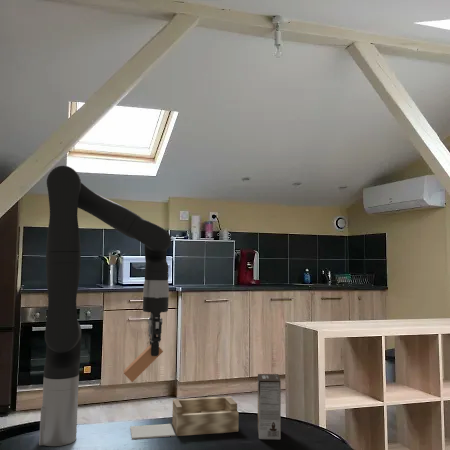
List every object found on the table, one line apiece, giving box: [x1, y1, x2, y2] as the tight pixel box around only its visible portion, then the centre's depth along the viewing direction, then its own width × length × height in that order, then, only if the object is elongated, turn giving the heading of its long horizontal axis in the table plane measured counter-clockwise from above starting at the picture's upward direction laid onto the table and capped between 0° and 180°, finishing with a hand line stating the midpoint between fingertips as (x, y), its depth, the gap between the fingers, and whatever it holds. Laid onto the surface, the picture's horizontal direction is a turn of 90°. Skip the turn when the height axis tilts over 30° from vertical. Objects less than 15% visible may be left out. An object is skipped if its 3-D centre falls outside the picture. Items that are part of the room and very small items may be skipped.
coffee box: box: [257, 373, 282, 440], centre depth 135 cm, size 9×6×16 cm
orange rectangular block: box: [122, 343, 164, 383], centre depth 136 cm, size 12×4×4 cm
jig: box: [171, 395, 240, 437], centre depth 139 cm, size 18×10×8 cm, turn 104°
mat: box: [129, 423, 176, 440], centre depth 135 cm, size 12×10×1 cm
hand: (154, 354), depth 137 cm, fingers closed on orange rectangular block, 4 cm apart
